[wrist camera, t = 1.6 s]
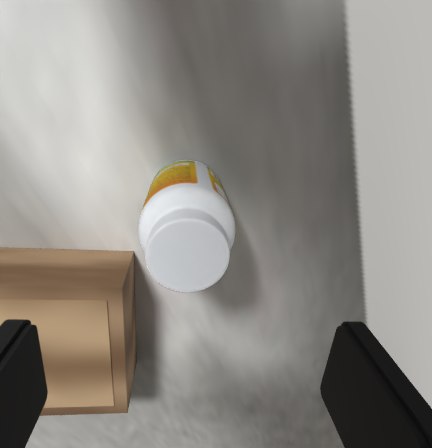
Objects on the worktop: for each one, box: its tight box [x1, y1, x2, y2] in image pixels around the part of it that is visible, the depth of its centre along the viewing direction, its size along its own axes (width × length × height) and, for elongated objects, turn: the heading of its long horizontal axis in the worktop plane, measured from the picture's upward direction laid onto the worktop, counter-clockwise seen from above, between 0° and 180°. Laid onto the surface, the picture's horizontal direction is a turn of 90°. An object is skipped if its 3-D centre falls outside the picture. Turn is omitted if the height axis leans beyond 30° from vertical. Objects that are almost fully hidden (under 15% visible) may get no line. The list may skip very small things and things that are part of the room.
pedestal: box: [0, 248, 137, 416], centre depth 24 cm, size 12×12×5 cm
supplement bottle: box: [138, 160, 235, 292], centre depth 19 cm, size 5×5×10 cm
